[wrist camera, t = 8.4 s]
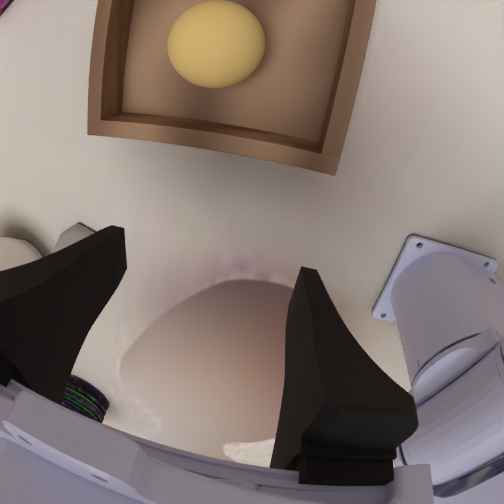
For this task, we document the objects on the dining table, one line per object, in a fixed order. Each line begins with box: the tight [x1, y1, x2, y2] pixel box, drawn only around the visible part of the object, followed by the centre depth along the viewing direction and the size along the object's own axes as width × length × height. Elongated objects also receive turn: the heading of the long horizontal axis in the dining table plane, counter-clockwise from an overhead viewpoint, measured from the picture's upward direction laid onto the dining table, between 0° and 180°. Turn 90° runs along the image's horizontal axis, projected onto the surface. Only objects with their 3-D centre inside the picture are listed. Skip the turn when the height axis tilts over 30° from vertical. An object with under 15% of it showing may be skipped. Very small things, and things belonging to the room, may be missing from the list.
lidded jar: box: [0, 237, 43, 271], centre depth 25 cm, size 11×11×9 cm
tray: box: [88, 0, 376, 176], centre depth 15 cm, size 15×12×3 cm
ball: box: [167, 0, 265, 88], centre depth 14 cm, size 5×5×5 cm
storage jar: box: [61, 374, 109, 423], centre depth 37 cm, size 10×10×15 cm
